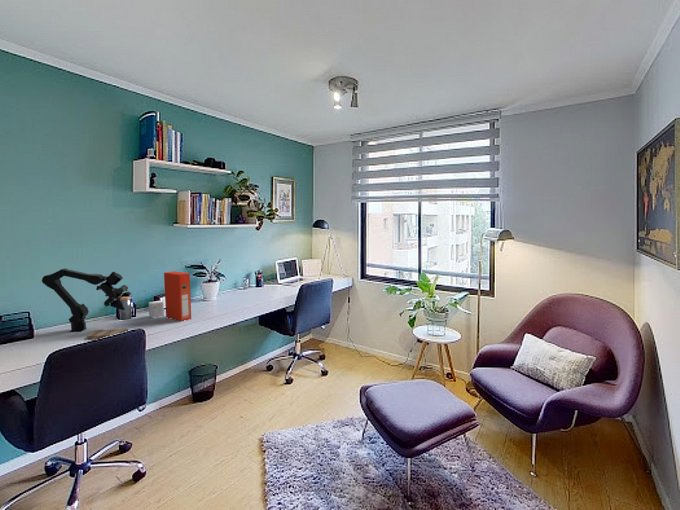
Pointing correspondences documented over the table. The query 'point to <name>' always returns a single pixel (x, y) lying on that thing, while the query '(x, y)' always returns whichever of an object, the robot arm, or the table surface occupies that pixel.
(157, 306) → the small box
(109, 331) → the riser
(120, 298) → the cargo block
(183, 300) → the file binder
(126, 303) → the tin
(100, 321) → the table surface
